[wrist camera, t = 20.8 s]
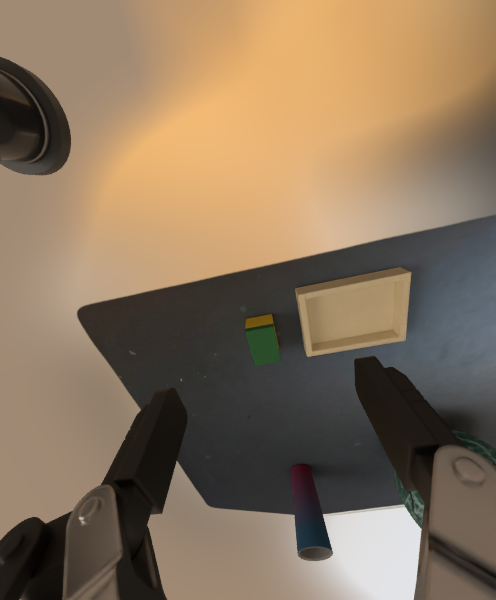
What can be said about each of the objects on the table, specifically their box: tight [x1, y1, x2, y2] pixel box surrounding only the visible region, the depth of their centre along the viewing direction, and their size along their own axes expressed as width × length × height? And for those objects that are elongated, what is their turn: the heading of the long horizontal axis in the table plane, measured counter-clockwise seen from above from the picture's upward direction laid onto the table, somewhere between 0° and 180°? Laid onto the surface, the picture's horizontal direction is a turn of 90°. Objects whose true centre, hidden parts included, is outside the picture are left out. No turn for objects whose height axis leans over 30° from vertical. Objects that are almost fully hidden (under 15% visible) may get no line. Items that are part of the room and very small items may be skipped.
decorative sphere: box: [393, 428, 496, 528], centre depth 43 cm, size 20×20×20 cm
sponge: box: [245, 314, 281, 366], centre depth 38 cm, size 7×4×4 cm, turn 13°
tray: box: [295, 267, 411, 357], centre depth 37 cm, size 16×12×3 cm
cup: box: [291, 464, 333, 561], centre depth 52 cm, size 7×7×15 cm
